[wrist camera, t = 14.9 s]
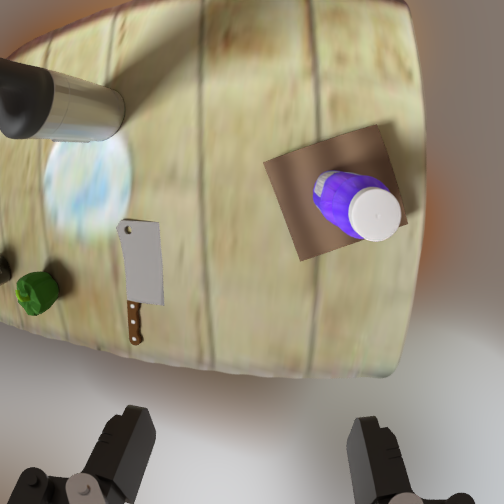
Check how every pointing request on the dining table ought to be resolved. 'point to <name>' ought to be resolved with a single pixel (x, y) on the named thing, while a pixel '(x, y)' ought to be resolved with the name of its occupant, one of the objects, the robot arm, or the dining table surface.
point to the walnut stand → (306, 174)
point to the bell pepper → (36, 292)
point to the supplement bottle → (4, 271)
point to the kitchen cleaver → (141, 269)
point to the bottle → (357, 205)
